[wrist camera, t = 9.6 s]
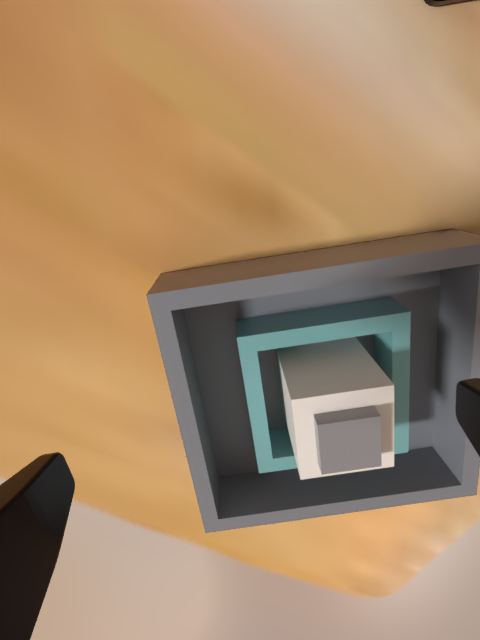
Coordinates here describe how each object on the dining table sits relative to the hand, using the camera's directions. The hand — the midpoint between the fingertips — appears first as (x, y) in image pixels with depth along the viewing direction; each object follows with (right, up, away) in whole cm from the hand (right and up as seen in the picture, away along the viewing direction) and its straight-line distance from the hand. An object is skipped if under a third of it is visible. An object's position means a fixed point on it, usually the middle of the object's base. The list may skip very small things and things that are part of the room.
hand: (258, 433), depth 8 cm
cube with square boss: (+4, 0, +11) cm, 12 cm away
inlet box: (+4, 0, +12) cm, 12 cm away
